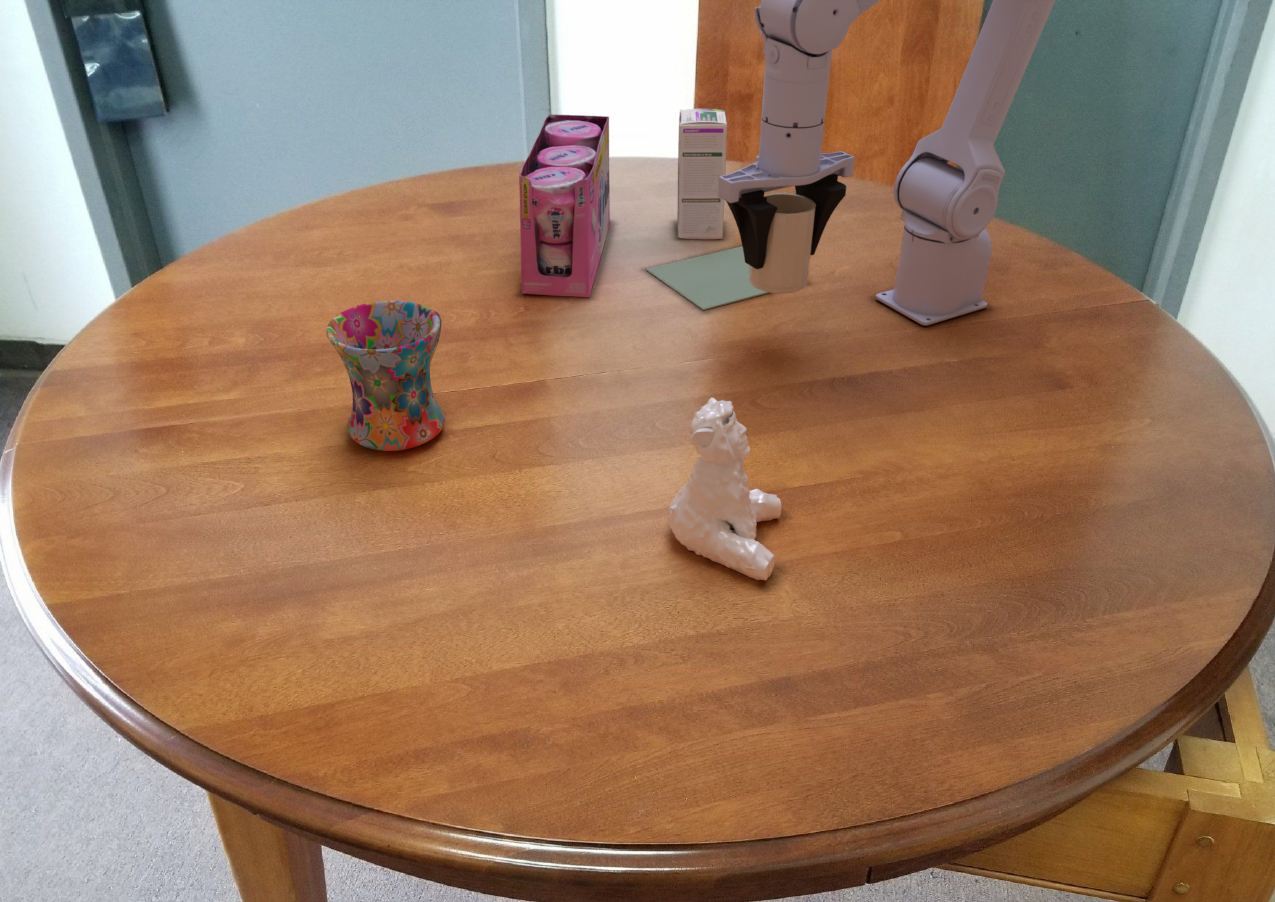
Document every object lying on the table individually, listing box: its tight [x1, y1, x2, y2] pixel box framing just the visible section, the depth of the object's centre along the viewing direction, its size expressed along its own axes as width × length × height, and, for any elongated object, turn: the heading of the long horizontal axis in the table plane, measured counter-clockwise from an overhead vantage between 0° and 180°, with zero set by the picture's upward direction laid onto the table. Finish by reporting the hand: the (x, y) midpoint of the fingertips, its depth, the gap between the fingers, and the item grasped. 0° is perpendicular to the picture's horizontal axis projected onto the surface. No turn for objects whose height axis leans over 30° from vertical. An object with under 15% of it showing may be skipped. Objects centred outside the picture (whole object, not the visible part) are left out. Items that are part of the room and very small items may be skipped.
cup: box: [749, 192, 816, 295], centre depth 104 cm, size 6×6×8 cm
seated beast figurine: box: [667, 397, 782, 581], centre depth 80 cm, size 10×9×12 cm
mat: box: [645, 245, 771, 311], centre depth 123 cm, size 14×12×1 cm
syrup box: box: [676, 108, 728, 240], centre depth 131 cm, size 6×6×14 cm
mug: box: [325, 300, 446, 452], centre depth 93 cm, size 12×9×11 cm
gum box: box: [518, 113, 611, 298], centre depth 123 cm, size 24×8×14 cm, turn 176°
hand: (780, 258), depth 105 cm, fingers closed on cup, 6 cm apart
